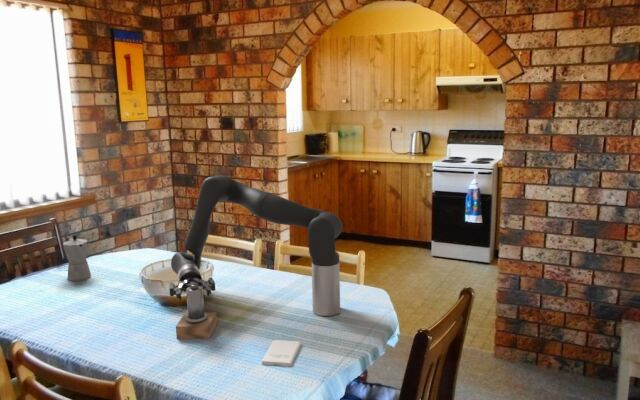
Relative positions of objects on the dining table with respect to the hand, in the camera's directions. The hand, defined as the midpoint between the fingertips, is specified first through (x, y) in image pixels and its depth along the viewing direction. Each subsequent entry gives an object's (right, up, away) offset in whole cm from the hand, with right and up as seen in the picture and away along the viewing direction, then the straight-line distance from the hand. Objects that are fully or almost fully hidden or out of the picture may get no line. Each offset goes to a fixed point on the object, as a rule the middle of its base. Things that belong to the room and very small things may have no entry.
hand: (194, 294), depth 164 cm
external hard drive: (+28, -15, -14) cm, 35 cm away
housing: (+1, -8, 0) cm, 8 cm away
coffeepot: (-60, -2, +53) cm, 81 cm away
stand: (+1, -12, +1) cm, 12 cm away
